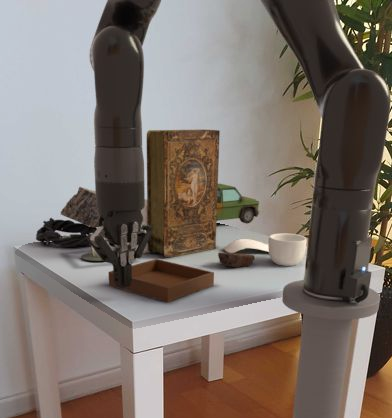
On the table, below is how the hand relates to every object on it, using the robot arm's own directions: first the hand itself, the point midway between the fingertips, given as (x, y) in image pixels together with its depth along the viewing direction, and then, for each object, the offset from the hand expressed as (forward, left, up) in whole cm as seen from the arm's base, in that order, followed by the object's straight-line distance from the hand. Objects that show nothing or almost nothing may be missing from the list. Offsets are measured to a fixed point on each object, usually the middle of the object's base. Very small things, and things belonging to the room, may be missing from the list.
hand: (123, 286), depth 92 cm
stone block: (+39, -27, +10) cm, 49 cm away
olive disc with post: (+23, -15, -2) cm, 28 cm away
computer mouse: (+3, -43, -2) cm, 43 cm away
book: (+14, -33, -2) cm, 35 cm away
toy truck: (+27, -63, -2) cm, 69 cm away
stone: (-2, -30, -2) cm, 30 cm away
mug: (+22, -28, -2) cm, 36 cm away
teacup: (-8, -39, -2) cm, 40 cm away
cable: (+40, -22, -2) cm, 46 cm away
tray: (0, -10, -2) cm, 10 cm away
